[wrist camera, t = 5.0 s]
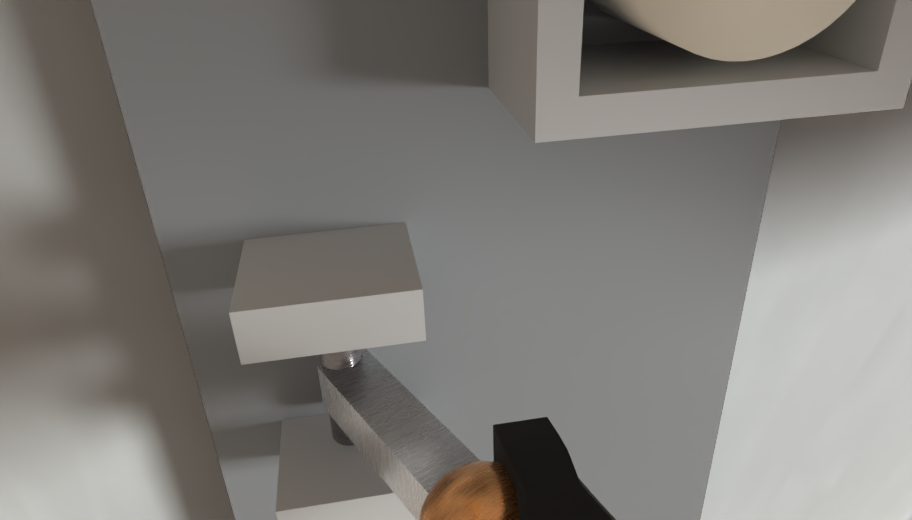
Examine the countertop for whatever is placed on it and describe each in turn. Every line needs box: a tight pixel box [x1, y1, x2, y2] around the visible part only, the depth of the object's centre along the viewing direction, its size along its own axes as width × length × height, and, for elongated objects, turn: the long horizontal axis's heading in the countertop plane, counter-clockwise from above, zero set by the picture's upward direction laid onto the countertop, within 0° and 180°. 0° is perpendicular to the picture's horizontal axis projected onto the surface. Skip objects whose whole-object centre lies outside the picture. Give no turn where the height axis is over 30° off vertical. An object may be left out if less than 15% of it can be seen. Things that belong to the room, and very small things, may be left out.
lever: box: [317, 349, 519, 520], centre depth 11 cm, size 2×3×6 cm
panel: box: [91, 0, 912, 520], centre depth 12 cm, size 12×30×5 cm, turn 2°
